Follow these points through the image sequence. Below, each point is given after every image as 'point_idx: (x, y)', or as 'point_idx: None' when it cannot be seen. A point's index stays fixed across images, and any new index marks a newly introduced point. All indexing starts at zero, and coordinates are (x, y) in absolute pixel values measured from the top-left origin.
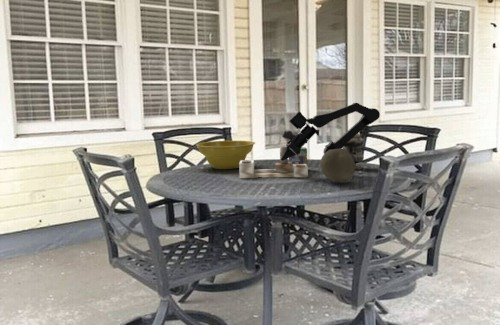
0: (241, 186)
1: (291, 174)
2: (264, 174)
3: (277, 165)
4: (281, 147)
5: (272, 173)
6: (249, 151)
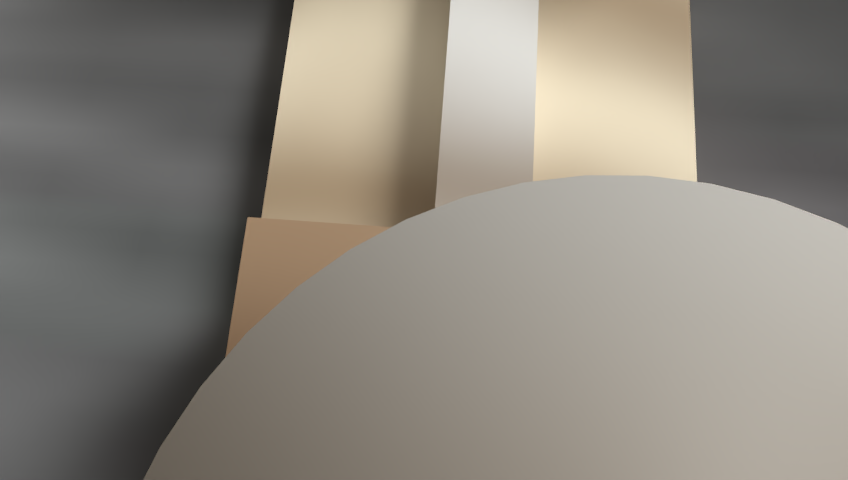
0: None
1: None
2: (286, 65)
3: (245, 272)
4: (244, 351)
5: (345, 212)
6: None
